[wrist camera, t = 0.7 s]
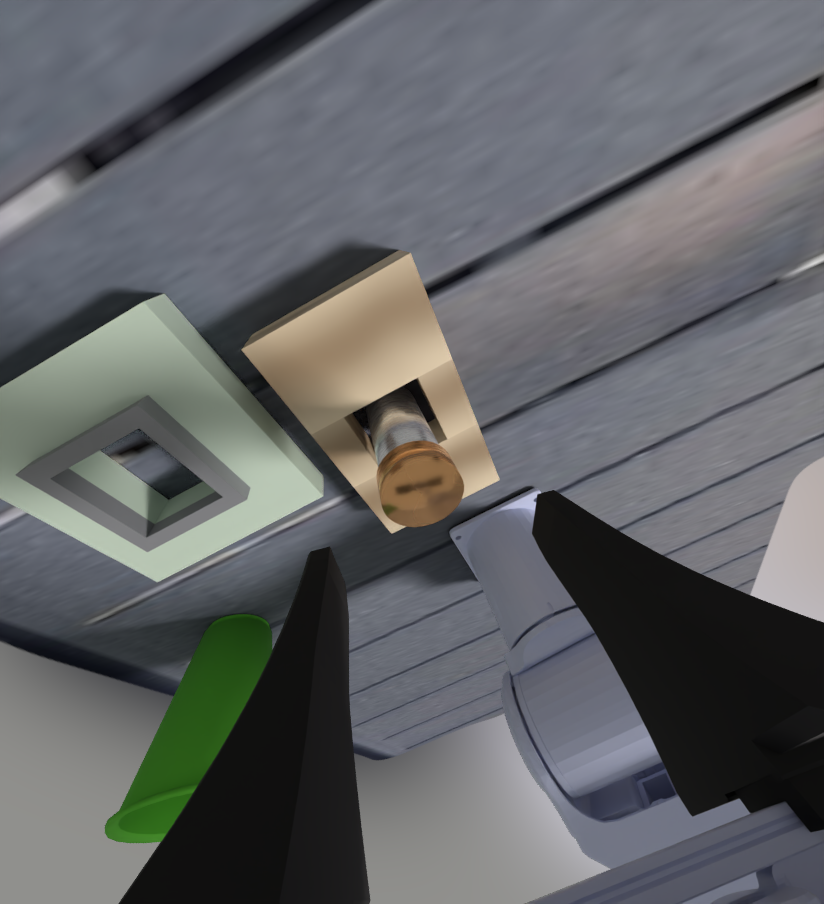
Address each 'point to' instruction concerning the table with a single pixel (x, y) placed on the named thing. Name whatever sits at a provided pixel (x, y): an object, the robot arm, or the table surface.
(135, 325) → the socket
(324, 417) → the mount
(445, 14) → the table surface
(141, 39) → the table surface
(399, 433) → the pin
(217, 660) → the cup
